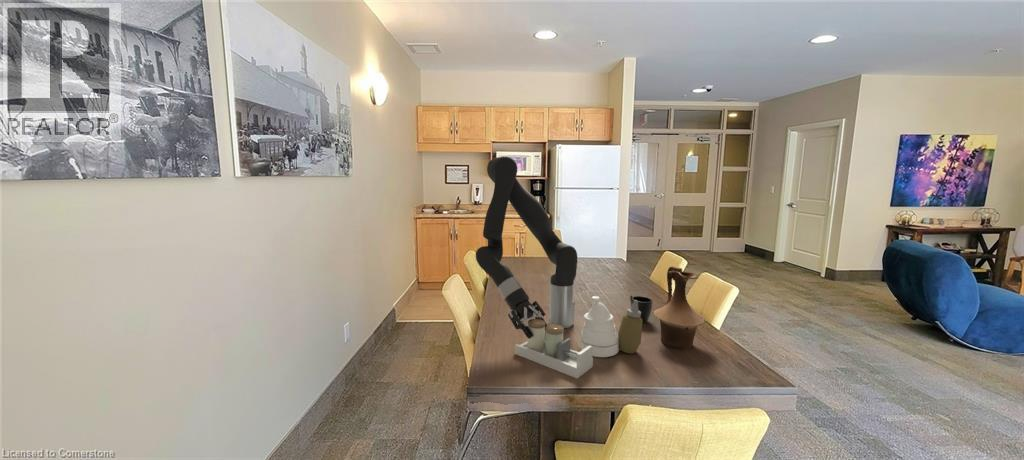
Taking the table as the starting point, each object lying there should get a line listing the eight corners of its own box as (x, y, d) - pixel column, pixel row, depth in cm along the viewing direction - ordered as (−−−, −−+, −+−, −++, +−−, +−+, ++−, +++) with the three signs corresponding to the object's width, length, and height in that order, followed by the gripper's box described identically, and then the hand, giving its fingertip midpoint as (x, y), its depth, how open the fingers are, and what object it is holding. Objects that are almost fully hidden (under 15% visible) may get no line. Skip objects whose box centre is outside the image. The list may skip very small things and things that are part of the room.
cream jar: (538, 345, 133) (538, 317, 131) (547, 351, 128) (548, 323, 126) (524, 348, 130) (524, 320, 128) (533, 355, 125) (534, 326, 123)
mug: (639, 313, 169) (640, 292, 167) (654, 323, 157) (656, 301, 156) (622, 314, 167) (623, 293, 166) (636, 325, 155) (638, 302, 154)
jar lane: (514, 353, 129) (515, 333, 128) (531, 344, 136) (532, 325, 135) (577, 378, 113) (578, 355, 112) (592, 366, 121) (593, 345, 120)
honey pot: (573, 345, 136) (572, 297, 133) (602, 337, 141) (601, 291, 139) (596, 360, 124) (595, 307, 122) (626, 351, 130) (626, 300, 127)
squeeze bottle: (627, 357, 127) (637, 305, 124) (610, 346, 134) (618, 297, 131) (643, 353, 131) (653, 304, 128) (626, 343, 138) (635, 296, 135)
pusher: (556, 363, 120) (556, 345, 119) (567, 355, 125) (568, 338, 124) (569, 368, 117) (570, 349, 116) (580, 360, 122) (581, 342, 121)
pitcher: (642, 334, 146) (647, 263, 142) (681, 331, 150) (687, 262, 146) (670, 355, 129) (676, 275, 125) (713, 351, 133) (721, 273, 129)
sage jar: (555, 351, 128) (556, 323, 127) (566, 358, 123) (567, 329, 122) (541, 355, 125) (542, 326, 124) (551, 362, 120) (552, 332, 119)
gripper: (505, 292, 125) (533, 334, 120) (531, 283, 136) (557, 321, 131) (493, 303, 129) (519, 345, 124) (519, 294, 140) (544, 332, 135)
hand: (539, 333), depth 127 cm, fingers open, 8 cm apart
